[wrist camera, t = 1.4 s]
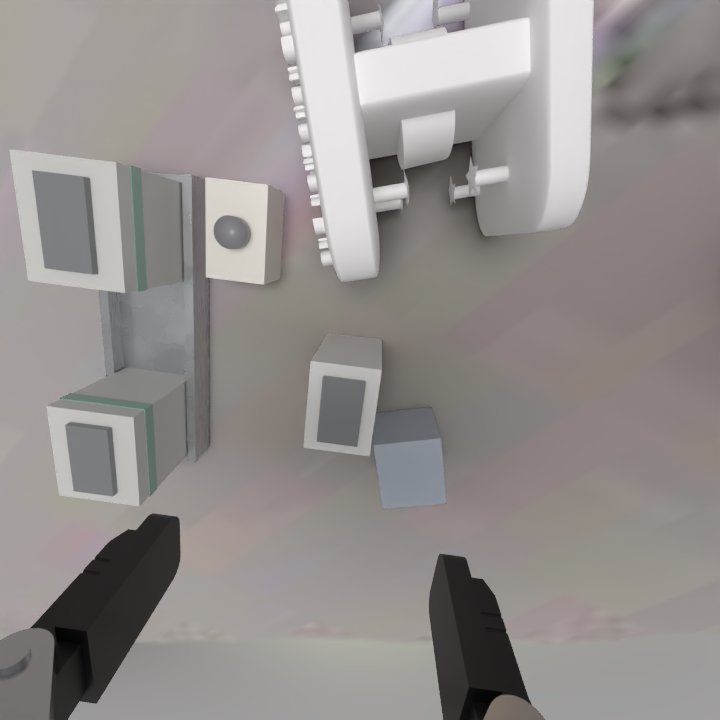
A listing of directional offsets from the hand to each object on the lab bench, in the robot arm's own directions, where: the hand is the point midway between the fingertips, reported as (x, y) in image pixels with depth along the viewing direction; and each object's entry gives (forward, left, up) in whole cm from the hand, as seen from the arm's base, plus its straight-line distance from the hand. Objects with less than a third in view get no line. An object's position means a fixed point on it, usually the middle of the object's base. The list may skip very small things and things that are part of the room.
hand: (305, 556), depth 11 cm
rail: (+14, -2, -18) cm, 23 cm away
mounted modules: (+14, -2, -16) cm, 22 cm away
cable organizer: (-2, -16, -18) cm, 24 cm away
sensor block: (+7, -9, -18) cm, 21 cm away
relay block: (-5, +5, -18) cm, 19 cm away
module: (0, 0, -18) cm, 18 cm away
